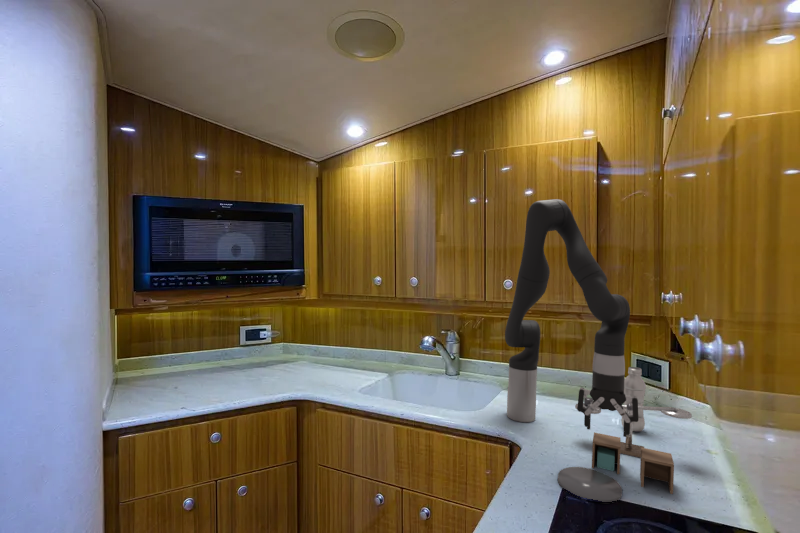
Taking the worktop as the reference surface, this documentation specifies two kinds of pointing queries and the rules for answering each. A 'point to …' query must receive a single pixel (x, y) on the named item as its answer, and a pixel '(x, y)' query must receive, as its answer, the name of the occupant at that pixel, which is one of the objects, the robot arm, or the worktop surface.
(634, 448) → the balance
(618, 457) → the hiding cover
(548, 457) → the worktop surface
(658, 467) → the empty cover
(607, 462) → the teal block
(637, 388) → the plastic bottle
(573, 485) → the slate dish
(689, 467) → the worktop surface
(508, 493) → the worktop surface
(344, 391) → the worktop surface
